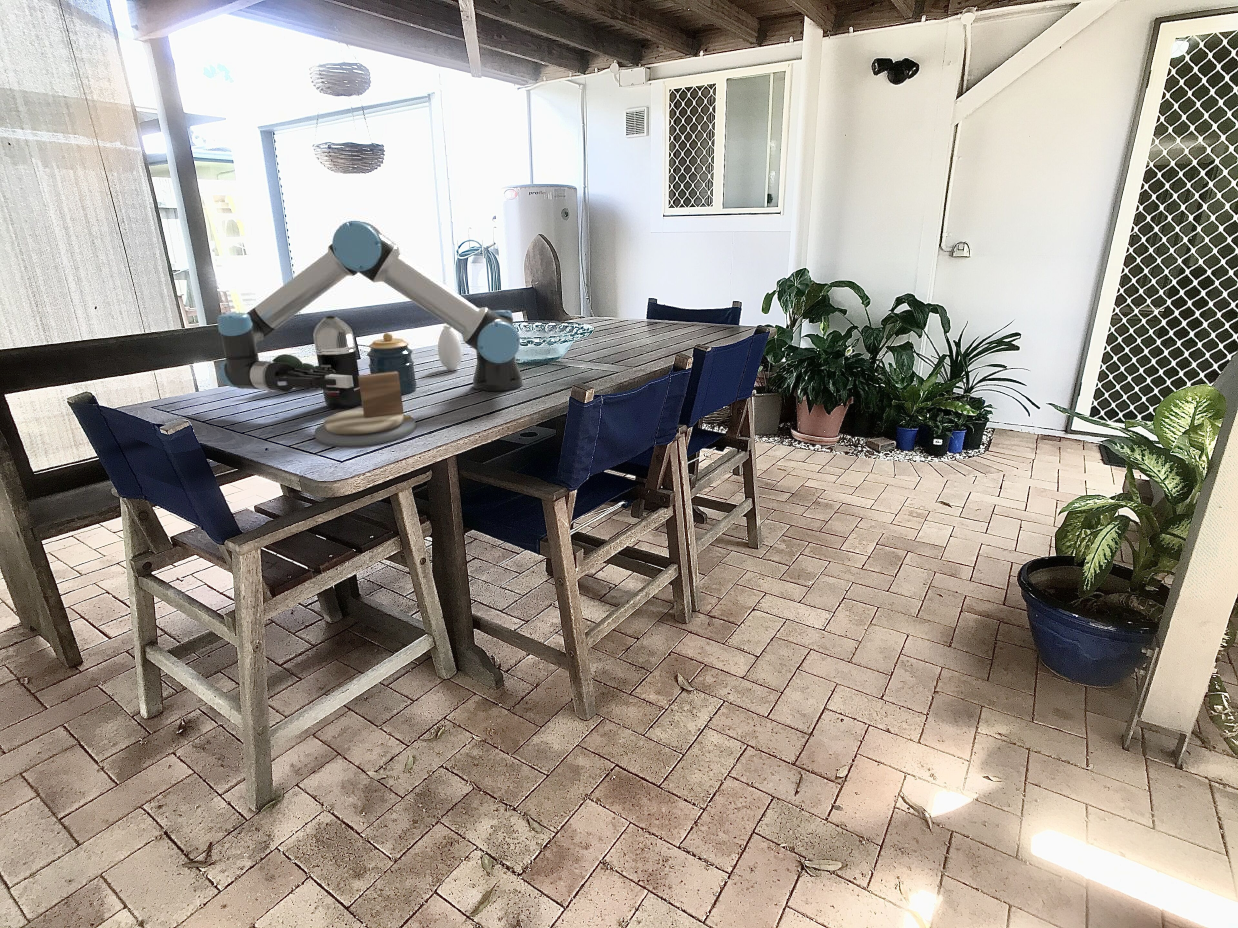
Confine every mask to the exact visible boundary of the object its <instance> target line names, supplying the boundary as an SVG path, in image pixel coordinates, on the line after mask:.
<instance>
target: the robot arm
mask: <svg viewBox="0 0 1238 928" xmlns="http://www.w3.org/2000/svg"><path fill="white" fill-rule="evenodd" d="M398 245H399V244H396V243H395V242H394V241H393V240H391V239H389V238H388V237H387V236H385V235H384V234H382V233H381V231H379V229H378V228H376V226H374V225H372V224H371V223H368V222H365V221H360V220H349V221H346V222H343V223H342V224H341V225H340V226H339V227H338V228H337V229H336V230H335V232H334V234H333V237H332V241H331V244H330V245H329V246H327V252H326V253H325V254H323V255H321V257H319V258H318V259H317V260H315V261H314V262H313V263H311V264H310V265H309V266H307V267H306V268H305V269H304V270H302V271H301V272H300V273H298V274H297V275H296V276H294V277H293V278H292V279H290V280H289V281H288V282H286V283H285V284H283V285H282V286H281V287H280V288H278V289H277V290H276V291H274V292H273V293H271V294H270V295H268V297H266V298H265V299H264V300H262V301H261V302H260V303H259V304H257V305H256V306H254V308H251V309H250V310H249V311H248V312H230V313H228V312H227V313H223V314H219V315H218V316H217V317H216V320H217V325H218V326H217V327H218V328H217V329H218V332H219V335H220V339H221V343H222V348H223V351H224V356H225V357H224V358H225V360H223V361H222V362H221V364H220V365H219V371H218V376H219V379H220V381H221V382H222V383H224V385H226V386H228V387H231V388H237V389H241V390H243V389H244V390H245V389H246V390H258V391H259V390H262V391H267V392H268V393H271V392H273V391H274V392H280V393H281V392H283V393H284V392H285V393H287V392H290V391H292V390H293V389H308V388H309V389H314V390H315V389H317V388H321V391H323V390H325V389H326V387H325V385H326V386H327V387H339V388H350V387H353V386H354V385H353V379H352V376H349V375H336V372H332V371H323V370H318V369H314V368H313V369H311V370H310V371H309V370H302V369H295V368H294V367H293V366H292V365H291V364H289V363H284V362H272V360H268V361H267V360H265V361H264V360H260V359H259V353H258V348H257V344H258V343H261V342H262V341H263V340H265V339H266V338H267V337H268V336H269V335H270V334H272V333H273V332H274V331H276V330H277V329H279V327H281V326H282V325H283V324H284V323H286V322H287V321H289V320H290V319H291V318H293V317H294V316H295V315H297V314H299V312H301V311H302V310H303V309H305V308H307V306H309V305H310V304H311V303H312V302H314V301H316V299H318V298H320V297H321V296H322V295H323V294H325V293H326V292H328V291H329V290H330V289H332V288H333V287H334V286H335V285H337V284H338V283H340V282H341V281H342V280H343V279H345V278H346V277H347V276H350V277H354V276H355V275H358V273H359V274H360V275H362V276H363V277H365V278H367V279H368V280H370V281H371V282H373V283H380V282H383V283H384V284H386V285H388V287H390V288H391V289H394V290H395V291H397V292H398V293H400V294H401V295H402V296H404V297H405V298H407V299H408V300H409V301H411V302H413V303H414V304H416V305H417V306H419V307H420V308H421V309H424V310H425V311H427V312H428V313H429V314H431V315H432V316H434V317H435V318H437V319H438V320H440V321H442V322H443V323H444V324H445V325H449V326H450V327H451V328H452V329H453V330H454V331H455V332H458V333H460V335H461V337H462V341H463V342H464V343H465V344H467V345H468V346H470V348H472V349H474V350H475V351H476V352H475V353H476V366H475V370H474V375H473V379H472V384H473V389H475V390H479V391H484V392H485V391H486V392H500V391H501V392H503V391H510V390H514V389H518V388H520V387H522V386H523V385H524V384H523V377H522V374H521V371H520V368H519V366H518V364H517V361H516V355H517V353H518V352H519V349H520V346H521V345H520V343H521V339H520V334H519V332H518V330H517V328H516V327H515V326H514V317H513V313H512V311H511V310H491V309H490V308H488V307H487V306H484V307H477V306H476V305H475V304H473V303H472V302H470V301H468V300H467V299H466V298H464V297H462V295H460V294H458V293H457V292H455V291H454V290H453V289H451V288H450V287H449V286H447V285H445V284H444V283H442V281H440V280H438V279H437V278H436V277H435V276H433V275H431V274H430V273H428V272H426V271H425V270H424V269H422V268H421V267H420V266H418V265H417V264H415V263H414V262H412V261H410V260H409V259H408V258H407V257H405V256H404V255H402V254H401V251H400V249H399V246H398Z"/></svg>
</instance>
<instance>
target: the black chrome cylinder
mask: <svg viewBox="0 0 1238 928" xmlns="http://www.w3.org/2000/svg"><path fill="white" fill-rule="evenodd" d="M312 335H313V337H312V338H313V343H314V347H315V349H314V350H315V354H316V359H317V366H319V370H323V371H332V372H336V375H349V376H352V379H353V385H354V386H353V387H350V388H339V387H327V386H326V385H325V387H326V389H325V390H322V393H323V399H324V404H325V405H326V407H328V408H330V409H335V410H342V409H344V410H345V409H352V408H355V407H357V406H359V405H362V400H361V394H360V387H359V381H358V375H360V371H359V363H358V358H357V352H356V351H357V348H356V345H355V337H354V333H353V330H352V328H351V327H350V326H349V325H348V324H347V323H346V322H344V321H343V320H341V319H340V318H338V317H336V315H334V314H328V315H326V316H325V317H324V318H323V319H322V320H321V321H320V322H319V323H318V324H317V325H316V326H315V329H314V330H313V334H312Z"/></svg>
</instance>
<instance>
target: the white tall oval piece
mask: <svg viewBox="0 0 1238 928" xmlns="http://www.w3.org/2000/svg"><path fill="white" fill-rule="evenodd" d="M437 343H438V344H437V353H438V358H439V361H440V364H441V365H442V366H443V367H444V368H446V370H448V371H449V372H450V371H455V370H456V369H458V367H460V365H461V363H462V360H463V348H462V344H461V341H460V338H459V336H458V335H457V332H456V330H455V329H453V328H452V327H450V326H449V325H447V324H445V325H443V329H442V330H441V332H440V334H439V338H438V342H437Z"/></svg>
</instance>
